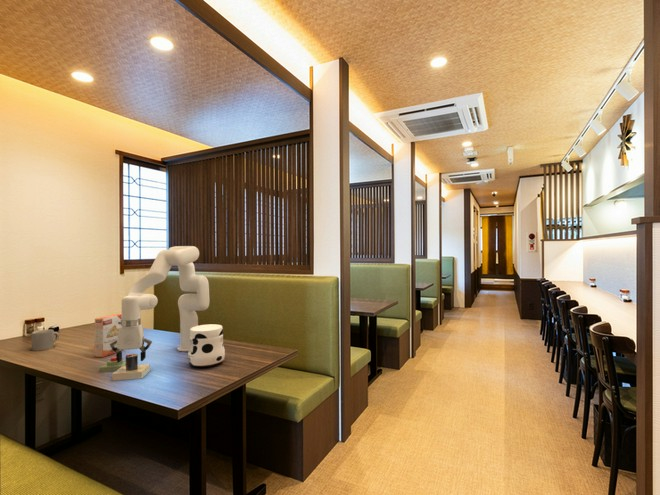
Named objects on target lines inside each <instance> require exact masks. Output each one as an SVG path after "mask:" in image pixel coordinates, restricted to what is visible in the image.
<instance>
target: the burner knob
mask: <svg viewBox="0 0 660 495" xmlns="http://www.w3.org/2000/svg"><path fill="white" fill-rule="evenodd" d="M125 361H126V370H128V371H129V370H135V369H137V368H138V365H139V354H138V353H130V354H126V355H125Z"/></svg>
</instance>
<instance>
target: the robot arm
mask: <svg viewBox="0 0 660 495" xmlns="http://www.w3.org/2000/svg"><path fill="white" fill-rule="evenodd" d="M199 257H200V250H199V248H198V247H197V246H194V245H178V246H177V245H175V246H171V247H169V248H168V249H162V250H160V251H159V252H158V253H157V255H156V257H155V258H154V261H153V263H152V265H151V267H150V268H149V270H148V272H146V274H145V275H143V276H142V277H140V278H139V279H138V280H136V281H135V282H134V283H133V284H132V286H131V287H130V289H129V290H128V292H127V294H126V296H125V295H124V296H123V297H122V298H121V314H122V320H121V321H118V324H121V327H119V331H118V338H117V340H116V341H114V342H113V343H111V344H110V346H111V348H112V350H113V351H114V352H115V353H114V354H115V356H116V360H117V363H118V362H120V361H122V358H123V351H125V350H138V349H139V350H140V351H141V352H140V361H141V362H144V360H145V359H146V357H147V354H146V353H147V350H148V349H149V348H150V347H151V345H152V343H153V340H151V339H148V338H146V337H145V333H144V328H143V324H142V323H141V322H142V321H141V318H142V316H141V315H142V314H141V312H142V311H144V310H145V311H146V310H148V311H149V310H153V309H154V308H155V307H156V306H157V304H158V302H159V300H158V297H157V296H156V295H155V294H153V293H145V291H146V290H148V289H149V288H151V287H153V286H156V285H159V284H160V283H162V282H164V281H165V280H166V279H167V276H168V275H169V272H170V270H171V269H172V267H173V266H175V267H176V266H177V269H178V280H179V288H180V290H181V291H182V292H188V293H184V294H182V295H180V296H179V297H178V300H177V306H178V311H179V338H180V342H179V343H180V344H179V346H178V347H177V351H179V352H189V349H190V329H191V328H192V327H195V326H199V316H198V313H197V312H196V311H199V312H203V311H206V310H207V309H208V308H210V301H211V300H210V298H211V297H210V284H209V280H208V278H207V276H206V275H202V274H196V268H195V264H194V262H196V261H197V260H199ZM116 343H117V347H115V344H116ZM145 343H146V345H145ZM121 350H122V351H121Z"/></svg>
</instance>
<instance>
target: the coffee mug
mask: <svg viewBox="0 0 660 495" xmlns="http://www.w3.org/2000/svg"><path fill="white" fill-rule="evenodd" d="M59 338H60V333H59V332H57V331H54V329H41V330H34V331H32V332H31V351H33V352H39V351H40V352H41V351H46V350H50V349H53V348H54V346H55V342H57V341H58V340H59Z"/></svg>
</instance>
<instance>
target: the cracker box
mask: <svg viewBox="0 0 660 495" xmlns="http://www.w3.org/2000/svg"><path fill="white" fill-rule="evenodd" d="M121 320H122V313H114V314H109V315H105V316H100V317H96V318H94V357H95V358H105V357H108V356H111V355H113V354H116V353H115V352H114V351H113V350H112V348H111V346H110V344H111V343H113V342H114V341H116V340H117V338H118V331H119V327H121V324H118V321H121ZM115 347H117V343H116V344H115ZM121 352H123V350H121Z"/></svg>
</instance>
